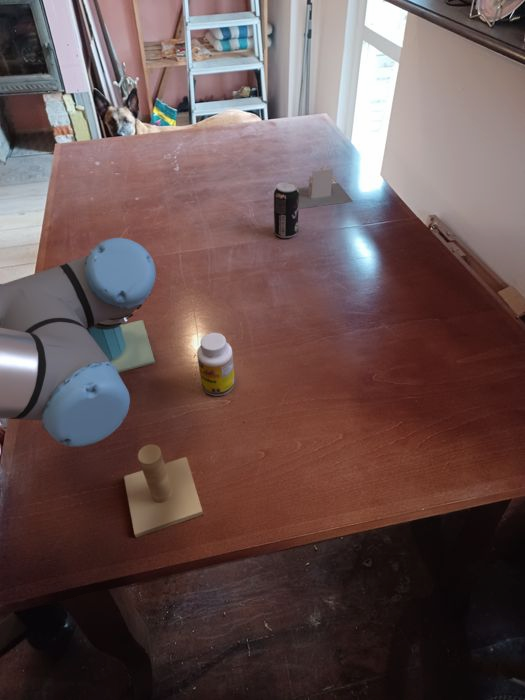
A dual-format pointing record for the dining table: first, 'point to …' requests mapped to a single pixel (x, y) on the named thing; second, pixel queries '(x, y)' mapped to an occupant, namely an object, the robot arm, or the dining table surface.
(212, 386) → the supplement bottle
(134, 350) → the mat
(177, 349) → the dining table surface
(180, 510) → the stand
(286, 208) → the beverage can
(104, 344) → the ring
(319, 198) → the architectural model
